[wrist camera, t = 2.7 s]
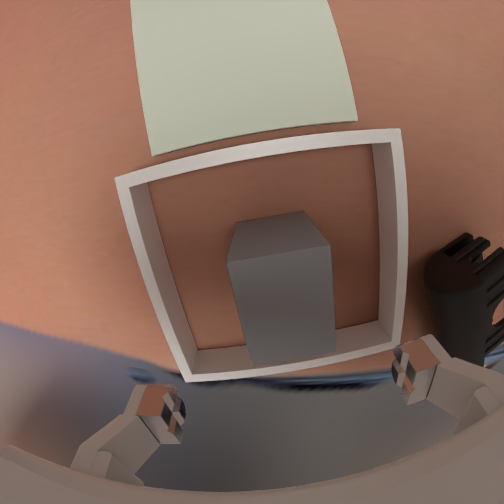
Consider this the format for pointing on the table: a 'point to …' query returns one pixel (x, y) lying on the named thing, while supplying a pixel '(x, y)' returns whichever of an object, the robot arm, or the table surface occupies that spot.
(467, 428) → the robot arm
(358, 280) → the table surface
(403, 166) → the grey bin
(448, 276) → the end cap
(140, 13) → the sage board
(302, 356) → the slate box
